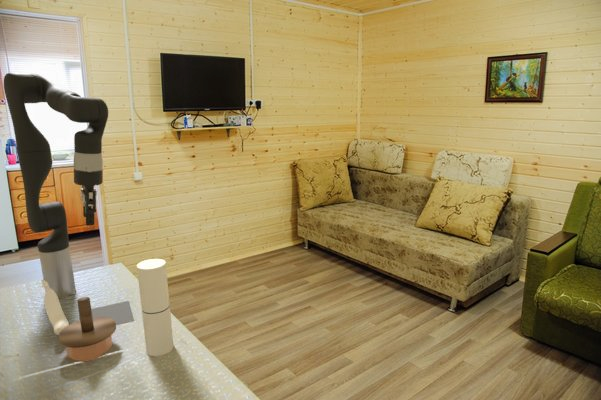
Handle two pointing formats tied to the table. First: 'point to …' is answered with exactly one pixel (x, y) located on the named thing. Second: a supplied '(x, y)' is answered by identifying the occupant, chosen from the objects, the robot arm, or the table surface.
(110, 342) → the terracotta bowl
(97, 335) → the walnut lid
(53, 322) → the banana
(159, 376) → the table surface
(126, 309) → the rubber mat
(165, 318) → the cylindrical container
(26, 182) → the robot arm
